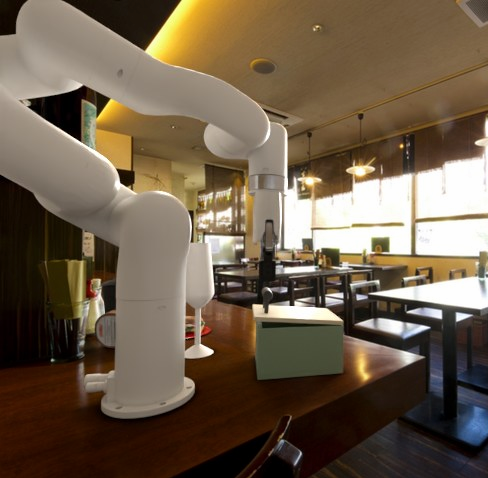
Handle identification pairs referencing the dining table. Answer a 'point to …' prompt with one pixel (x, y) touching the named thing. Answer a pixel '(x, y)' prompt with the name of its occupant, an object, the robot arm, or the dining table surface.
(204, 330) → the hamburger
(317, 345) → the chest
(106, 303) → the drinking cup
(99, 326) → the tin
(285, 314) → the lid
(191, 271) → the champagne flute
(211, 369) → the dining table surface
